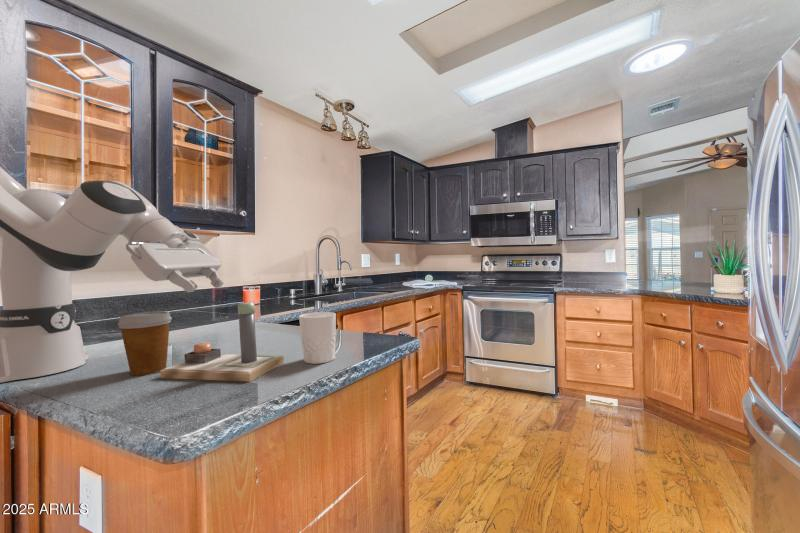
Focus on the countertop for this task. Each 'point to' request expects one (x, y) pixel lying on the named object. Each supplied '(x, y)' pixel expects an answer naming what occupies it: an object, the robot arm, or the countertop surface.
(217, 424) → the countertop surface
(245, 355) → the marker
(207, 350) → the button
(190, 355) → the wooden tray
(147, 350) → the disposable coffee cup
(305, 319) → the white cup
